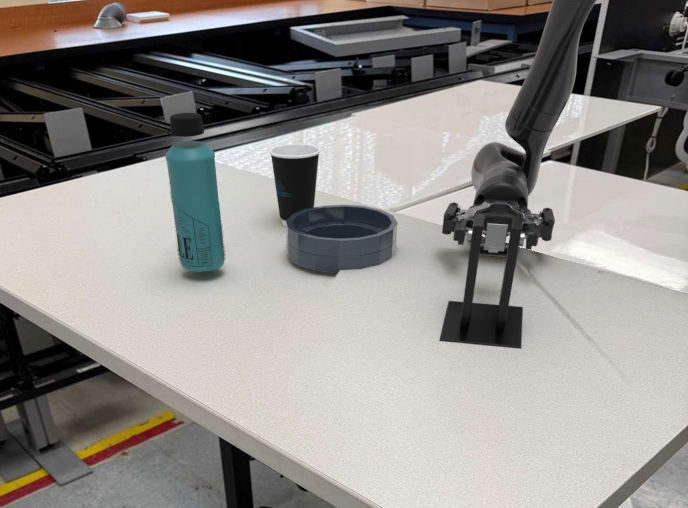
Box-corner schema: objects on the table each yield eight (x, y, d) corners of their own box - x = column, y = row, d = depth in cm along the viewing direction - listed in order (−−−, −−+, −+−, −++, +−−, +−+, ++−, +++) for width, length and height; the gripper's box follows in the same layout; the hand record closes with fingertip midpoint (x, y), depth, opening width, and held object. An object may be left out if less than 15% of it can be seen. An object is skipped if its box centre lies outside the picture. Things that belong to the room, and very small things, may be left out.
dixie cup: (265, 228, 114) (261, 154, 108) (281, 213, 120) (279, 142, 113) (312, 233, 113) (311, 157, 106) (326, 217, 118) (327, 144, 111)
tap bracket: (447, 309, 90) (459, 202, 81) (521, 315, 88) (541, 207, 80) (438, 348, 81) (451, 234, 73) (519, 356, 80) (541, 240, 71)
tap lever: (471, 258, 90) (474, 238, 89) (512, 261, 89) (515, 240, 88) (470, 246, 77) (473, 222, 76) (518, 249, 76) (521, 225, 75)
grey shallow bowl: (383, 236, 111) (385, 202, 108) (404, 273, 99) (407, 237, 96) (283, 241, 110) (282, 207, 107) (292, 279, 98) (291, 243, 95)
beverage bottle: (235, 269, 101) (222, 110, 89) (211, 286, 97) (194, 121, 84) (195, 263, 103) (177, 106, 91) (171, 279, 99) (148, 117, 86)
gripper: (453, 171, 102) (442, 205, 90) (557, 176, 99) (559, 212, 87) (447, 225, 106) (436, 264, 94) (546, 231, 104) (547, 272, 92)
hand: (495, 239), depth 91 cm, fingers open, 8 cm apart
